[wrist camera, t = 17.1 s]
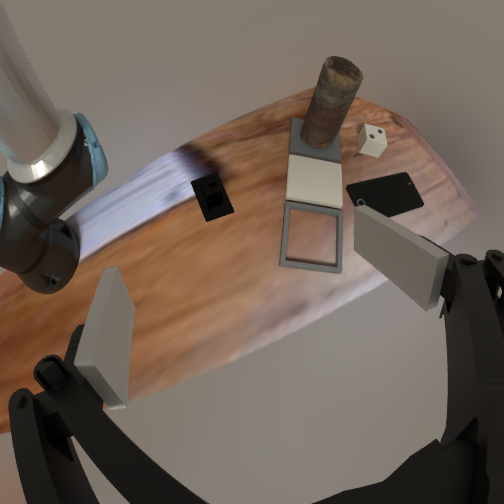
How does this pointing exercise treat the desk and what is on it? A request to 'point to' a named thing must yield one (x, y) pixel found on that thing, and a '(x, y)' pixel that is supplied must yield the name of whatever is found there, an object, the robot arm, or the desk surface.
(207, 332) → the desk surface
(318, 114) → the candle
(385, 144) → the die
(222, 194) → the black chunky piece
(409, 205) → the cell phone
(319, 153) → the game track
